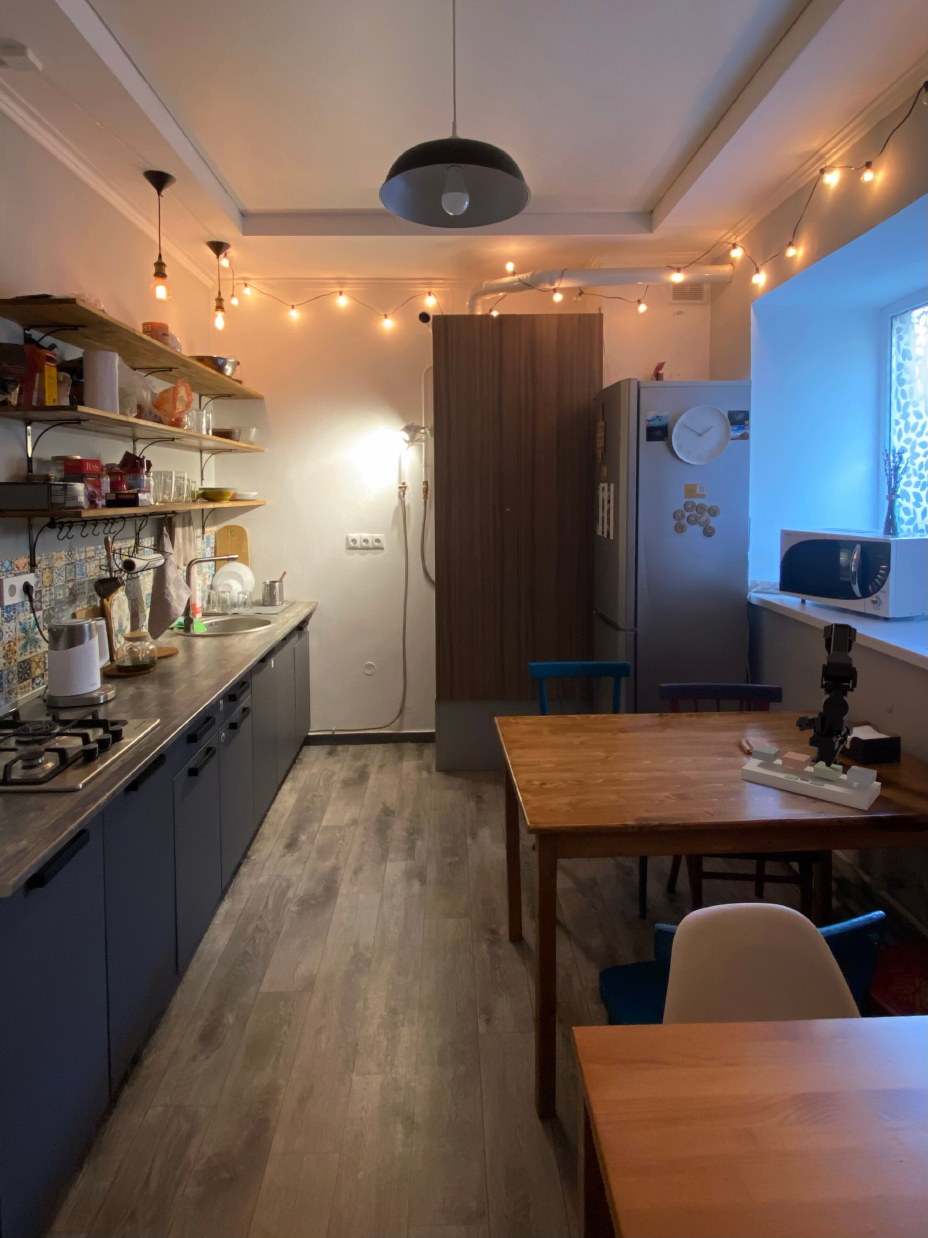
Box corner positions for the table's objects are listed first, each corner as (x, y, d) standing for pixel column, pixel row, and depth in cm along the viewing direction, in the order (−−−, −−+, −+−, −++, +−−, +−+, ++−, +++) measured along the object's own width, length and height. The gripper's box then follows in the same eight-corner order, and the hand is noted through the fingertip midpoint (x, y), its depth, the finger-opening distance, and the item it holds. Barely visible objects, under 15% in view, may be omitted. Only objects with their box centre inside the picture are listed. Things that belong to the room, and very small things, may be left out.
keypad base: (758, 765, 219) (759, 754, 219) (879, 794, 200) (881, 782, 199) (740, 778, 209) (741, 767, 208) (866, 810, 189) (868, 798, 189)
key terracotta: (788, 759, 211) (789, 751, 210) (809, 764, 207) (810, 756, 207) (781, 765, 206) (782, 756, 206) (803, 770, 203) (804, 761, 202)
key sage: (819, 769, 206) (819, 761, 205) (841, 775, 202) (842, 766, 202) (812, 775, 201) (813, 766, 201) (835, 780, 198) (836, 772, 198)
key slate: (758, 752, 216) (759, 744, 215) (779, 757, 212) (780, 749, 212) (751, 758, 211) (752, 749, 211) (772, 762, 208) (773, 754, 207)
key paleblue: (852, 774, 201) (853, 765, 200) (875, 779, 197) (876, 770, 197) (846, 780, 196) (847, 771, 196) (870, 786, 193) (871, 776, 192)
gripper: (812, 695, 211) (806, 750, 214) (790, 709, 197) (784, 768, 199) (856, 703, 204) (850, 760, 207) (837, 718, 190) (830, 779, 192)
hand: (828, 766), depth 201 cm, fingers closed, pressing on key sage
